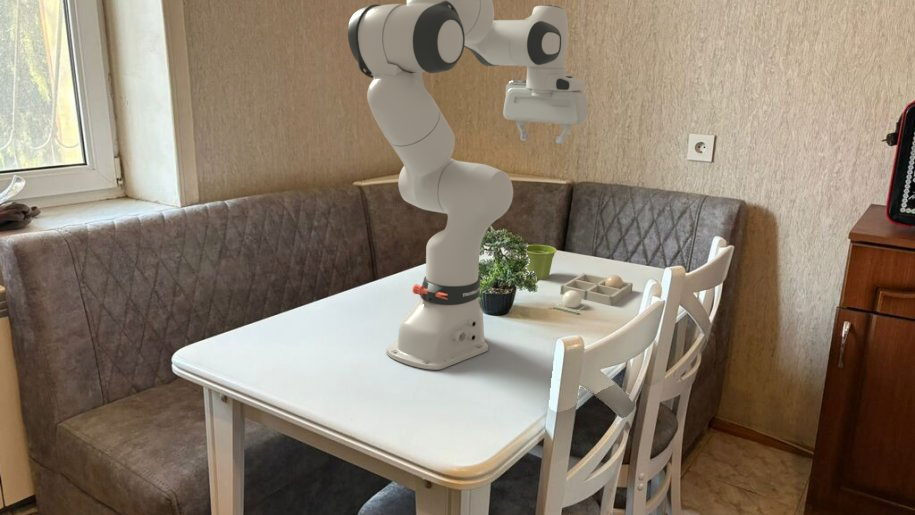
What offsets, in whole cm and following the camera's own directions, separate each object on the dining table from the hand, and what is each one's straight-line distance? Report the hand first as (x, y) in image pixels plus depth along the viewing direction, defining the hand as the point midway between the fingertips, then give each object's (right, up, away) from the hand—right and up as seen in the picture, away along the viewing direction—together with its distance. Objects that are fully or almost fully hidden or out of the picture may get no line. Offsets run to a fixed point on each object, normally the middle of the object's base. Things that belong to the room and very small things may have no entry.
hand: (542, 141), depth 161 cm
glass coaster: (+8, -40, +9) cm, 42 cm away
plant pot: (+3, -33, +31) cm, 46 cm away
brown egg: (+21, -36, +19) cm, 46 cm away
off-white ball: (+8, -40, +9) cm, 42 cm away
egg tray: (+17, -37, +19) cm, 45 cm away
